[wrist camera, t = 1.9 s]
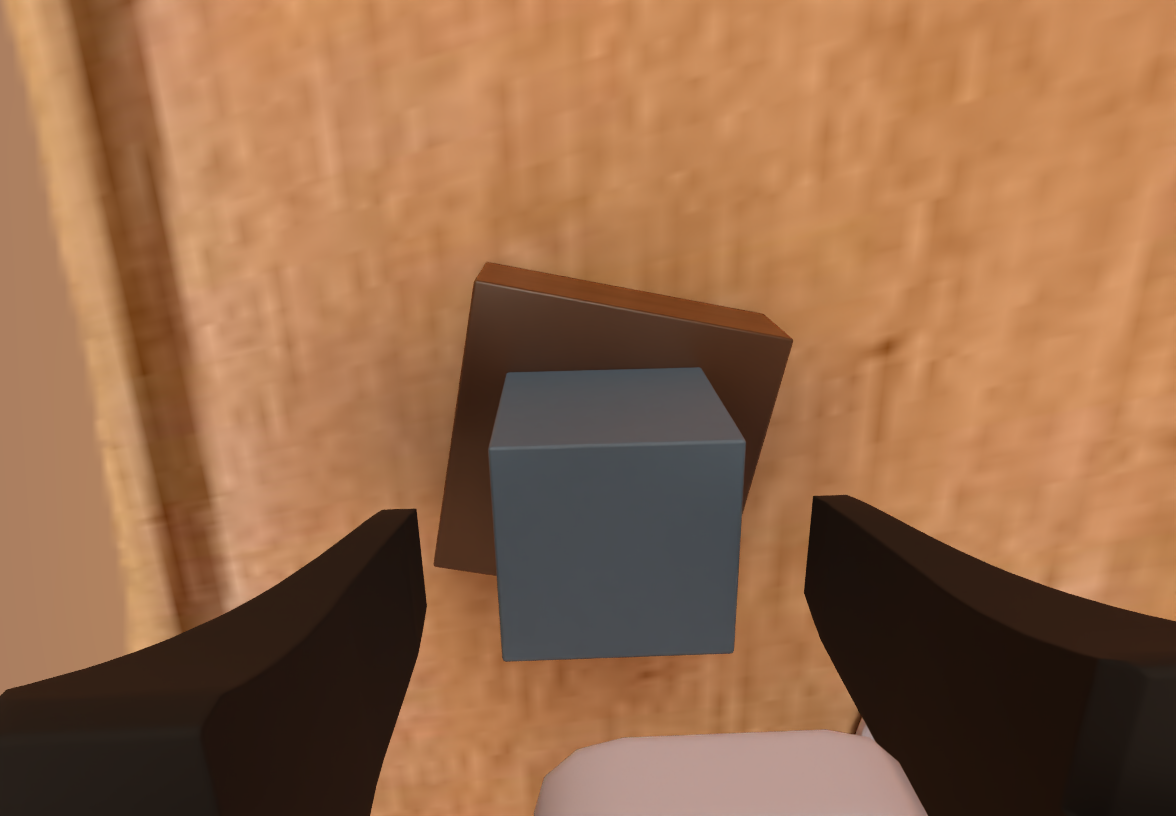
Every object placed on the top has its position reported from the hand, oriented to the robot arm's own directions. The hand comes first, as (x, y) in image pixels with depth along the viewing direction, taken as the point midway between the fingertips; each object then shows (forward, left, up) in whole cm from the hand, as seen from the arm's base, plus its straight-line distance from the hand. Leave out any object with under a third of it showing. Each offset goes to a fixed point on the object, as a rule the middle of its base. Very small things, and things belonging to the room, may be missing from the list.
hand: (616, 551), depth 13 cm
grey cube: (0, 0, -4) cm, 4 cm away
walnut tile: (0, 0, -7) cm, 7 cm away
